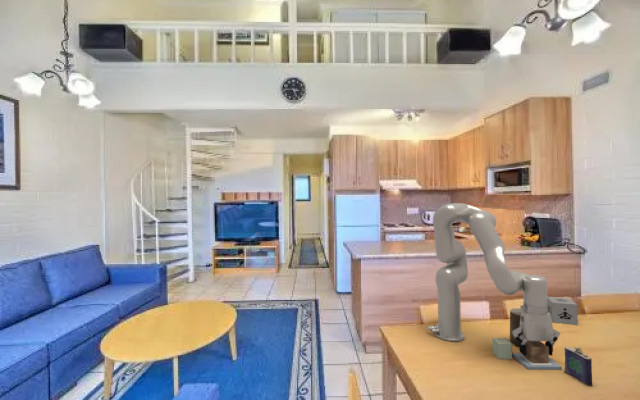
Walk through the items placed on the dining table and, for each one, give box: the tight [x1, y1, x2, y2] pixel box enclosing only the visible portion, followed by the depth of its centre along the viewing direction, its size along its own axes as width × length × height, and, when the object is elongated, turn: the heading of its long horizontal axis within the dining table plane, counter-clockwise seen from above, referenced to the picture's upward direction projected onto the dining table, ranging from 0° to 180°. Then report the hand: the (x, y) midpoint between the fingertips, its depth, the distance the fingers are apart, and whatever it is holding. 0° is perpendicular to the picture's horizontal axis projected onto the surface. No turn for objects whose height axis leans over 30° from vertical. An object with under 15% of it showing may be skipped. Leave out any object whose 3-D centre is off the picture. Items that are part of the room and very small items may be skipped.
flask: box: [564, 346, 593, 387], centre depth 110 cm, size 9×3×11 cm, turn 8°
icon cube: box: [547, 296, 579, 326], centre depth 160 cm, size 10×10×10 cm
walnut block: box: [523, 341, 550, 363], centre depth 121 cm, size 6×6×6 cm
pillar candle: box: [509, 308, 523, 348], centre depth 135 cm, size 10×10×15 cm
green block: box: [491, 337, 513, 360], centre depth 126 cm, size 5×5×6 cm
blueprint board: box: [512, 352, 563, 371], centre depth 121 cm, size 12×10×1 cm
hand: (535, 353), depth 121 cm, fingers open, 9 cm apart
